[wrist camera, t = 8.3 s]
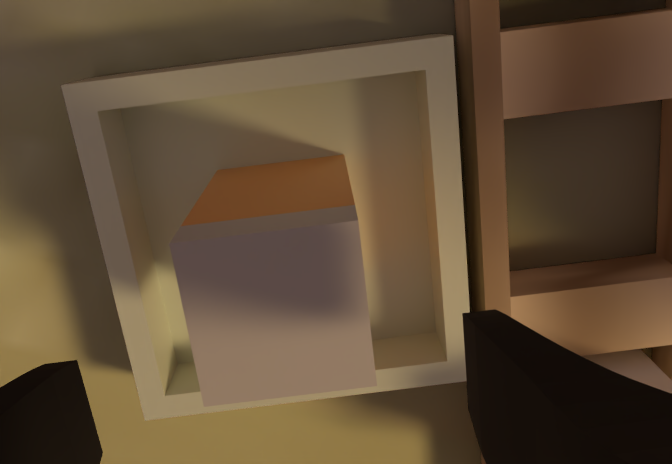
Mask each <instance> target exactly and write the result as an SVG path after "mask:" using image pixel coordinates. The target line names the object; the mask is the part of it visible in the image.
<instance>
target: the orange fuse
mask: <svg viewBox="0 0 672 464" xmlns="http://www.w3.org/2000/svg"><path fill="white" fill-rule="evenodd" d="M169 245H170V250H171V255H172V260H173V264H174V269H175V274H176V278H177V283H178V288H179V292H180V297H181V302H182V306H183V311H184V316H185V320H186V325H187V330H188V335H189V339H190V344H191V349H192V353H193V358H194V363H195V367H196V372H197V377H198V381H199V386H200V391H201V395H202V400H203V405H204V407H207V406H216V405H224V404H232V403H241V402H249V401H257V400H265V399H274V398H282V397H290V396H299V395H307V394H315V393H323V392H332V391H340V390H348V389H356V388H365V387H373V386H377V381H376V372H375V363H374V354H373V346H372V337H371V328H370V319H369V310H368V301H367V292H366V284H365V275H364V266H363V257H362V248H361V239H360V231H359V222H358V216H357V212H356V207H355V203H354V198H353V193H352V189H351V184H350V180H349V175H348V170H347V166H346V161H345V156H344V154H343V155H335V156H327V157H319V158H311V159H303V160H294V161H286V162H278V163H270V164H262V165H254V166H246V167H238V168H230V169H222V170H217V171H216V173H215V174H214V176H213V177H212V179H211V181H210V182H209V184H208V185H207V187H206V188H205V190H204V191H203V193H202V194H201V196H200V197H199V199H198V200H197V202H196V203H195V205H194V206H193V208H192V210H191V211H190V213H189V214H188V216H187V217H186V219H185V220H184V222H183V223H182V225H181V226H180V228H179V229H178V231H177V232H176V234H175V235H174V237H173V239H172V240H171V242H170V243H169Z"/></svg>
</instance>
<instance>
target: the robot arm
mask: <svg viewBox="0 0 672 464" xmlns="http://www.w3.org/2000/svg"><path fill="white" fill-rule="evenodd" d="M462 316H463V332H464V348H465V364H466V379H467V395H468V409H469V413H470V416H471V419H472V423H473V426H474V430H475V433H476V437H477V440H478V443H479V446H480V450H481V453H482V456H483V458H484V460H485V462H486V464H672V393H669V392H666V391H663V390H660V389H657V388H655V387H652V386H649V385H647V384H644V383H641V382H638V381H636V380H633V379H630V378H628V377H625V376H623V375H621V374H618V373H616V372H614V371H611V370H609V369H607V368H605V367H603V366H601V365H598V364H596V363H594V362H592V361H590V360H588V359H586V358H584V357H582V356H580V355H578V354H576V353H574V352H572V351H570V350H568V349H566V348H564V347H562V346H560V345H559V344H557V343H555V342H553V341H551V340H550V339H548V338H546V337H544V336H542V335H541V334H539V333H537V332H535V331H534V330H532V329H530V328H529V327H527V326H525V325H523V324H522V323H520V322H518V321H517V320H515V319H513V318H511V317H510V316H508V315H506V314H504V313H502V312H500V311H498V310H496V309H493V310H485V311H477V312H469V313H462ZM102 453H103V452H102V448H101V444H100V441H99V437H98V434H97V430H96V426H95V423H94V419H93V416H92V412H91V409H90V405H89V401H88V398H87V394H86V391H85V387H84V383H83V380H82V376H81V373H80V369H79V366H78V362H77V360H74V361H66V362H58V363H49V364H44V365H41V366H39V367H37V368H35V369H33V370H31V371H29V372H27V373H25V374H23V375H21V376H19V377H18V378H16V379H14V380H12V381H11V382H9V383H7V384H6V385H4V386H2V387H1V388H0V464H100V461H101V457H102Z"/></svg>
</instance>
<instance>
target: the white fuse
mask: <svg viewBox="0 0 672 464" xmlns="http://www.w3.org/2000/svg"><path fill="white" fill-rule="evenodd" d="M582 357H584V358H586V359H588V360H590V361H592V362H594V363H596V364H598V365H601V366H603V367H605V368H607V369H609V370H611V371H614V372H616V373H618V374H621V375H623V376H625V377H628V378H630V379H633V380H636V381H638V382H641V383H644V384H647V385H649V386H652V387H655V388H657V389H660V390H663V391H666V392H669V393H672V380H671V379H670V378H669V377H668V376H667V375H666V374H665V373H664V372H663V371H662V370H661V369H660V368H659V367H658V366H657V365H656V364H655V363H654V362H653V361H652V360H651V359H650V358H649V357H648V356H647V355H646V354H645V353H644V352H643V351H642V350H641V349H633V350H625V351H617V352H609V353H601V354H593V355H584V356H582Z"/></svg>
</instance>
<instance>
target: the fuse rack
mask: <svg viewBox="0 0 672 464" xmlns="http://www.w3.org/2000/svg"><path fill="white" fill-rule="evenodd" d="M454 6H455V23H456V40H457V57H458V74H459V91H460V108H461V125H462V142H463V159H464V176H465V193H466V210H467V227H468V244H469V261H470V278H471V294H472V311H473V312H477V311H485V310H493V309H496V310H498V311H500V312H502V313H504V314H506V315H508V316H510V317H511V318H513V319H515V320H517V321H518V322H520V323H522V324H523V325H525V326H527V327H529V328H530V329H532V330H534V331H535V332H537V333H539V334H541V335H542V336H544V337H546V338H548V339H550V340H551V341H553V342H555V343H557V344H559V345H560V346H562V347H564V348H566V349H568V350H570V351H572V352H574V353H576V354H578V355H580V356H584V355H593V354H601V353H609V352H617V351H625V350H633V349H642V348H650V347H652V361H653V362H654V363H655V364H656V365H657V366H658V367H659V368H660V369H661V370H662V371H663V372H664V373H665V374H666V375H667V376H668V377H669V378H670V379H671V380H672V0H666V8H661V9H653V10H645V11H637V12H629V13H622V14H614V15H606V16H598V17H590V18H582V19H574V20H566V21H559V22H551V23H543V24H535V25H527V26H519V27H511V28H503V29H500V12H499V0H454ZM654 100H662V113H661V139H660V164H659V190H658V216H657V241H656V253H654V254H646V255H638V256H630V257H622V258H614V259H606V260H598V261H590V262H582V263H574V264H565V265H557V266H549V267H541V268H533V269H525V270H517V271H509V247H508V221H507V195H506V169H505V143H504V119H511V118H518V117H526V116H534V115H542V114H550V113H558V112H566V111H574V110H582V109H590V108H598V107H606V106H614V105H622V104H630V103H638V102H646V101H654ZM481 464H486V462H485V460H484V458H483V456H482V453H481Z"/></svg>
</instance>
